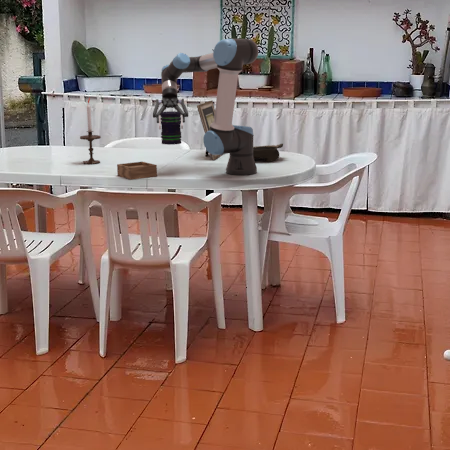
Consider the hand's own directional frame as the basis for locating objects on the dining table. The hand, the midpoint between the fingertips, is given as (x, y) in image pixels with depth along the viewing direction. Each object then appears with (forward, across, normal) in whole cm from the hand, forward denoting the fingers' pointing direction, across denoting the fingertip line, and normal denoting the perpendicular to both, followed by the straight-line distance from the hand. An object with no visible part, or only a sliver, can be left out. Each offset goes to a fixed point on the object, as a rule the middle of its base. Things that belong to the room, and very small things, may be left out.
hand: (171, 127), depth 358 cm
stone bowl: (-12, -49, -45) cm, 68 cm away
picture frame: (-25, -24, -58) cm, 67 cm away
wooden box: (+17, +17, -15) cm, 29 cm away
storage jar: (+4, 0, -8) cm, 9 cm away
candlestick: (-14, +43, -47) cm, 65 cm away
